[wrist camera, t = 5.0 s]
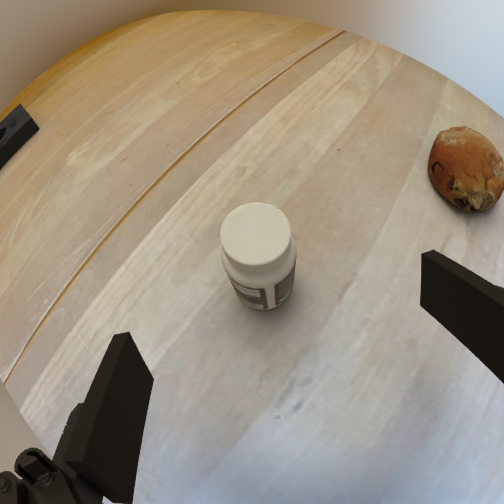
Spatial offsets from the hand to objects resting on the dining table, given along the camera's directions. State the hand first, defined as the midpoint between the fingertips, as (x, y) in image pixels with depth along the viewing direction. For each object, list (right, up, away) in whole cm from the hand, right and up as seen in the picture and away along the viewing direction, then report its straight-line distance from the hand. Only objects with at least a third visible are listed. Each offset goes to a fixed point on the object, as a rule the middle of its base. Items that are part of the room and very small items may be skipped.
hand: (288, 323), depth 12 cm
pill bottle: (-1, 0, +12) cm, 12 cm away
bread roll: (+22, +11, +15) cm, 29 cm away
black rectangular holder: (-48, +22, +26) cm, 58 cm away
